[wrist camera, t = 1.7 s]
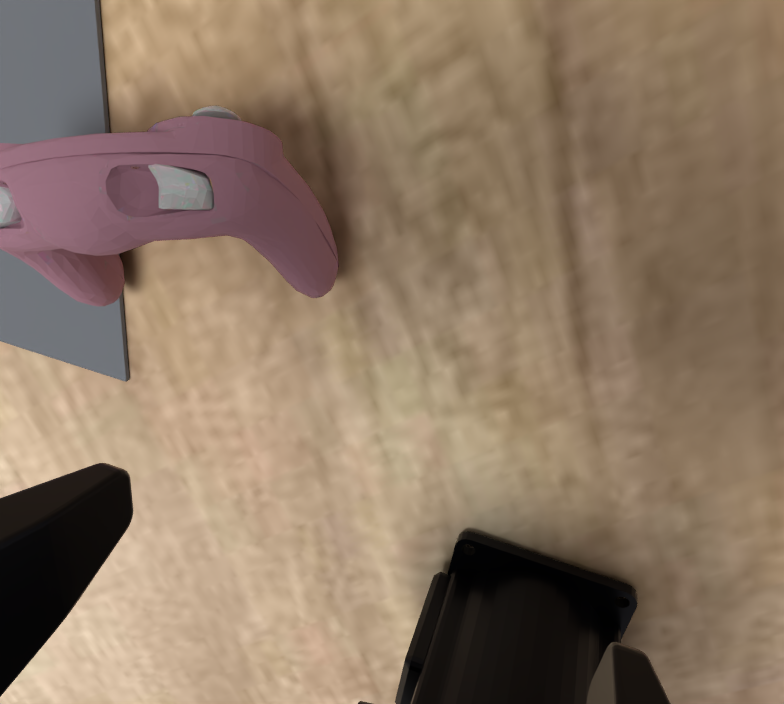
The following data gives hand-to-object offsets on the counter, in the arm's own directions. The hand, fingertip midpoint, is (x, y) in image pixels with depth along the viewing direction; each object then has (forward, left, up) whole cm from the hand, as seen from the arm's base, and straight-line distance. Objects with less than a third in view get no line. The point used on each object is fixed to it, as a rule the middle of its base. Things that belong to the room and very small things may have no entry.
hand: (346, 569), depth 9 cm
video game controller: (+10, 0, -12) cm, 16 cm away
